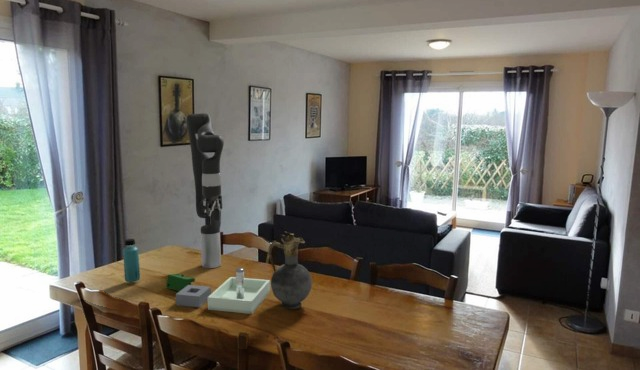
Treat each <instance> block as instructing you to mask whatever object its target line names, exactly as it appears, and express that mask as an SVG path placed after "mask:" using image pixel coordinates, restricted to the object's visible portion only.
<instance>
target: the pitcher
mask: <svg viewBox="0 0 640 370" xmlns="http://www.w3.org/2000/svg"><path fill="white" fill-rule="evenodd" d="M285 233H286V234H287V235H285V234H280V236H282V237H281V242H282V243H280V242H277V241H275V242H272V243H270V244H269V246H268V251H267V253H268V258H269V261H270V263H271V265H272V269H273V271H274V272H273V273H272V276H271V279H270V288H271V290H272V293H273V296H274V297H275V298H276V299H277V300H278V301H279V302H281V306H282V307H283V308H284V309H285V310H297V309H299V308H301V307H302V302H303V301H305V300H306V299H307V298H308V296H309V295H310V294H311V290H312V285H313V280H312V276H311V274H310V271H309V270H308V269H307V268H306V266H303V264H300V263H299V260H298V259H299V258H298V257H299V250H298V249H299V244H305V243H306V241H305V240H304V239H303V238H302V237H297V236H296V237H295V236H294V233H291V232H287V231H285ZM274 247H277V248H279V249H282V250H283V255H284V263H283V264H281V265H280V266H278V267H277V268H276V267H275V264H274V261H273V255H272V250H273V248H274Z"/></svg>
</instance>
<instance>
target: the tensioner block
mask: <svg viewBox="0 0 640 370" xmlns="http://www.w3.org/2000/svg"><path fill="white" fill-rule="evenodd" d="M211 294H212V286H205V285H197V284H196V285H195V284H194V285H193V284H191V285H187V286H186V287H185V288H183V289H182V290H181V291H177V293H175V305H176V306H182V307H192V308H201V307H202V306H203V305H204V304H205V303H206V302H208V296H209V295H211Z"/></svg>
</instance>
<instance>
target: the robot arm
mask: <svg viewBox="0 0 640 370" xmlns="http://www.w3.org/2000/svg"><path fill="white" fill-rule="evenodd" d="M186 127H187V133H188V134H187V135H188V139H189V146H190V151H191V152H190V153H191V163H192V172H193V178H194V190H195V191H194V192H195V211H196V215H197V217H198V218H200V219H204V220H205V222H204V225H202V226H201V227H200V245H201V246H200V247H201V248H200V249H201V251H200V252H201V267H202V268H205V269H214V268H215V269H216V268H218V267H220V266H221V265H222V258H221V257H222V256H221V252H222V251H221V248H222V247H221V224H222V210H223V198H222V197H223V196H222V179H221V167H220V166H221V163H220V162H221V158H222V157H221V156H222V153H223V149H224V144H225V142H224V139H223V137H222V136H221V135H219V134H215V132H214V128H213V127H214V126H213V122H212V117H211V116H210V114H209V113H206V112H205V113H202V112H201V113H192V114H187V116H186ZM196 135H197V136H196ZM208 153H211V154H213V155H212V156H211V157H210V155H209V154H208Z"/></svg>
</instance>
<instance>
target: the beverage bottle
mask: <svg viewBox="0 0 640 370" xmlns="http://www.w3.org/2000/svg"><path fill="white" fill-rule="evenodd" d="M124 245H125V246H126V247H124V248H123V249H122V254H123V255H122V256H123V257H122V258H123V270H124V275H123V276H124V281H125V282H127V283H134V282H138V281H140V279H141V269H140V256H139V248H138V247H137V246H136V240H135V239H134V238H128V239H125V240H124Z"/></svg>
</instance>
